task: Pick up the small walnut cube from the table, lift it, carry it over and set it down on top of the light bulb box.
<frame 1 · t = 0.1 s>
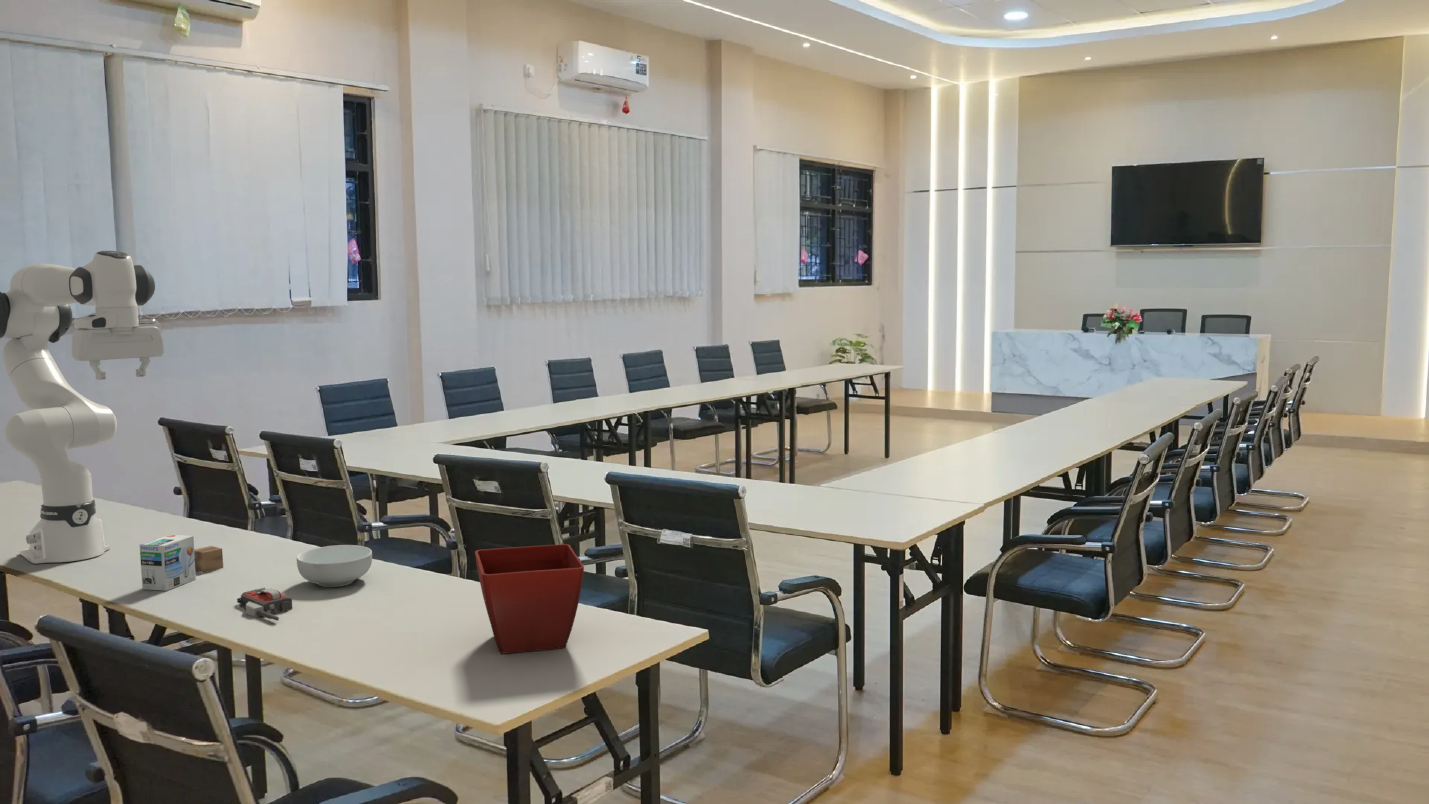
hand: (121, 378, 259), 48 cm above the table, tool pointing down, fingers open, 8 cm apart
light bulb box: (169, 585, 255), on the table
walnut cube: (208, 569, 269), on the table
plant pot: (530, 642, 214), on the table
cereal bowl: (335, 583, 256), on the table
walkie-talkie: (269, 613, 234), on the table
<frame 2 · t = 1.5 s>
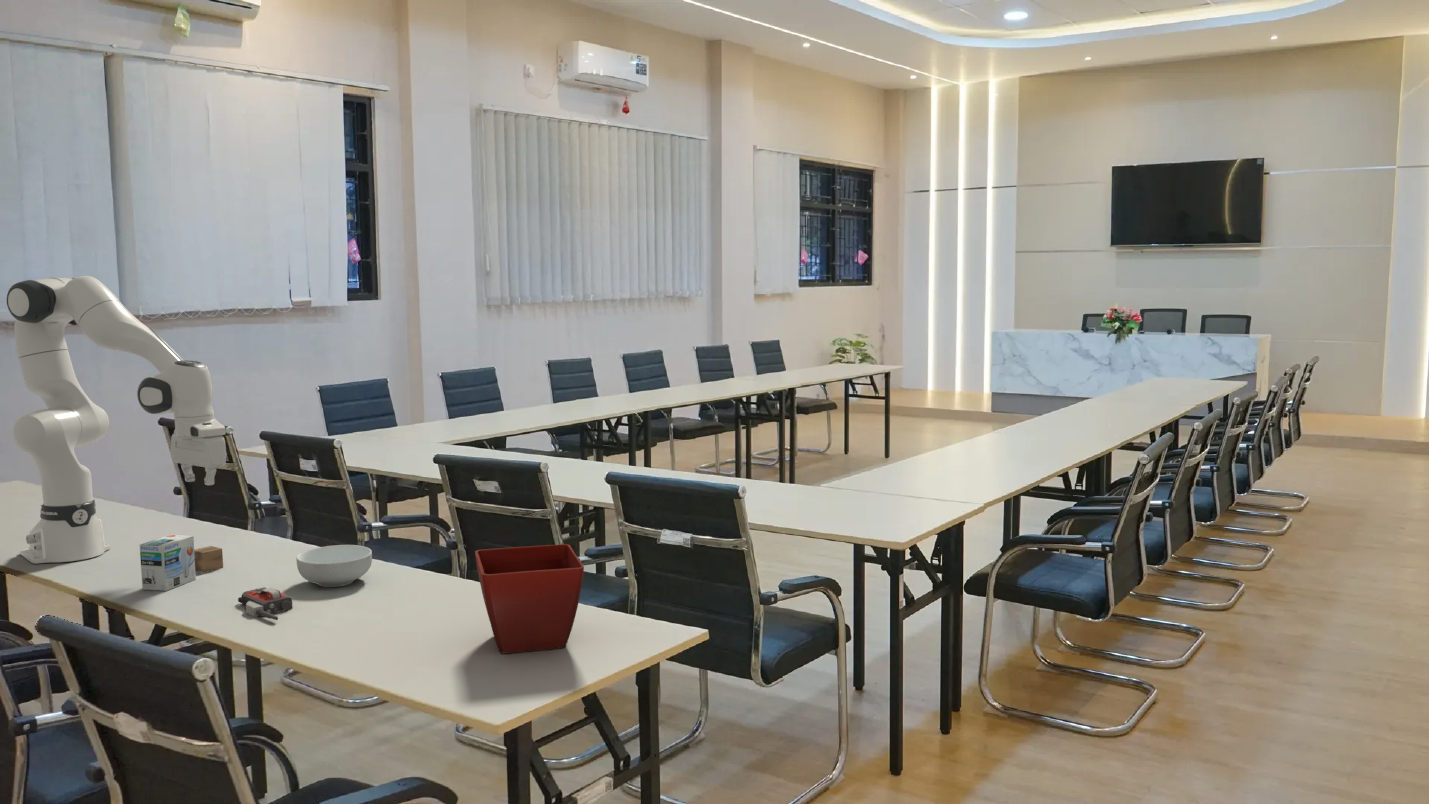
hand: (199, 483, 266), 22 cm above the table, tool pointing down, fingers open, 8 cm apart
nothing on the table moved.
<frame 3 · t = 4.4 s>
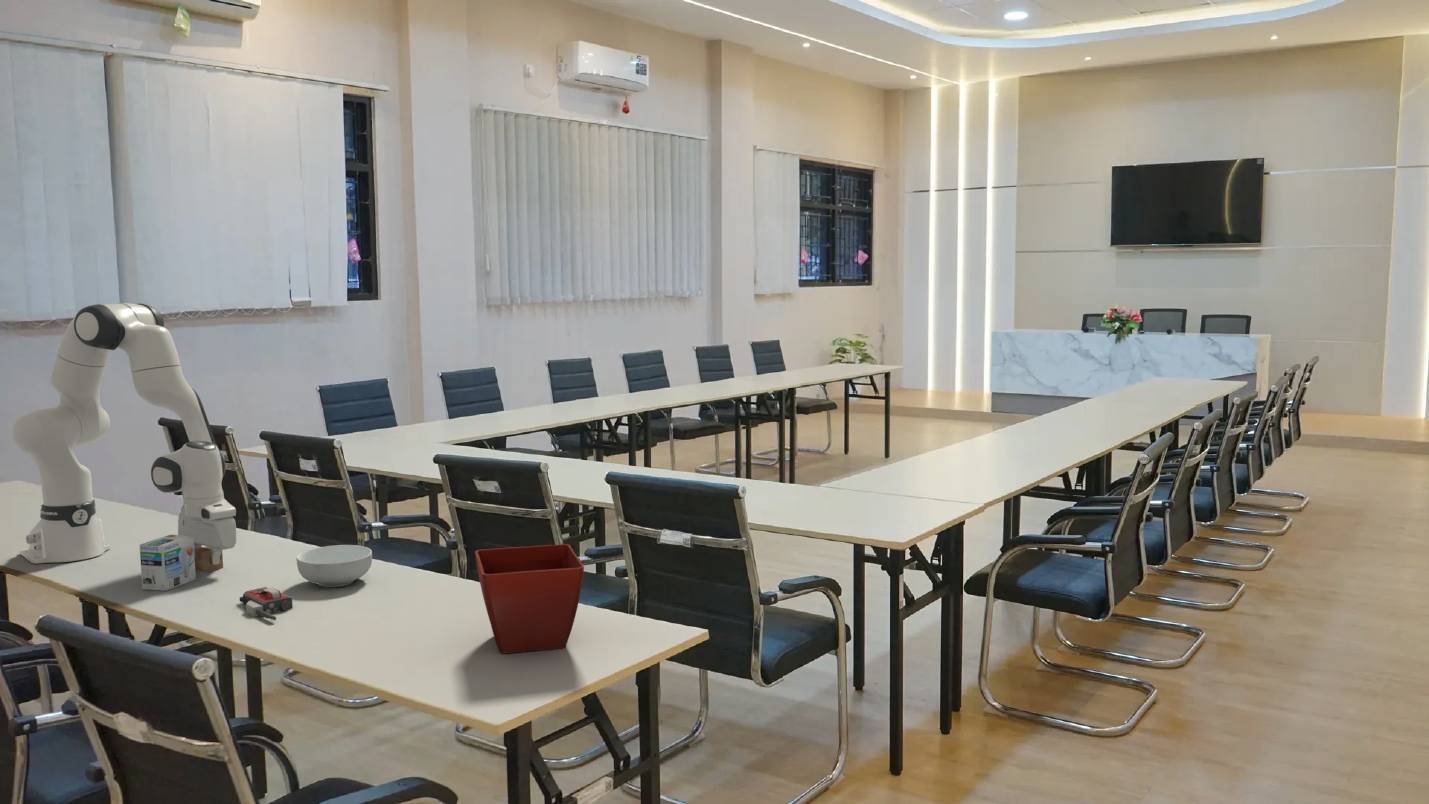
hand: (207, 562, 269), 2 cm above the table, tool pointing down, fingers closed on walnut cube, 5 cm apart
walnut cube: (208, 568, 269), on the table, touching gripper
everything else where it was.
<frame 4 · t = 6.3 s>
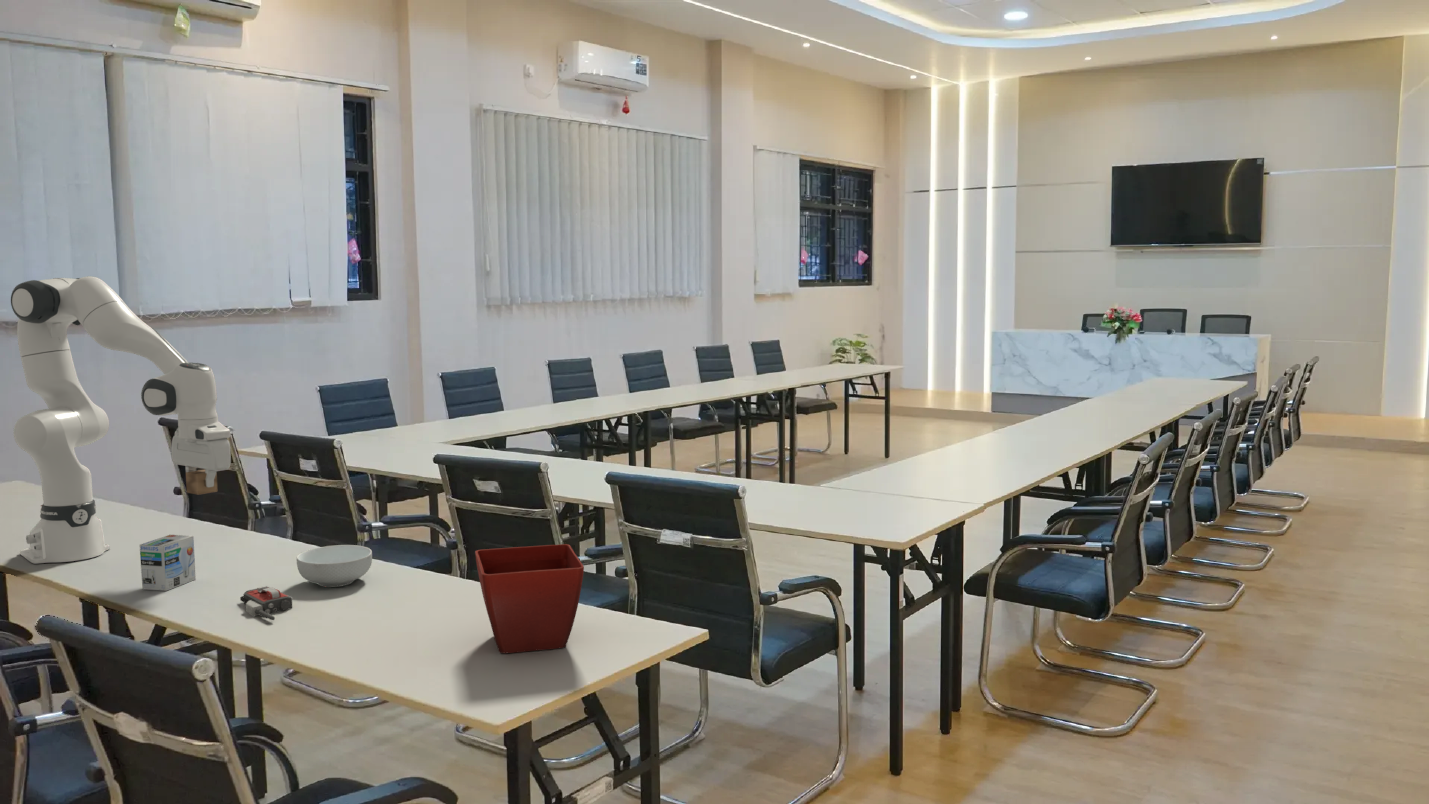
hand: (201, 485, 266), 21 cm above the table, tool pointing down, fingers closed on walnut cube, 5 cm apart
walnut cube: (202, 492, 266), point 19 cm above the table, touching gripper
everything else where it was.
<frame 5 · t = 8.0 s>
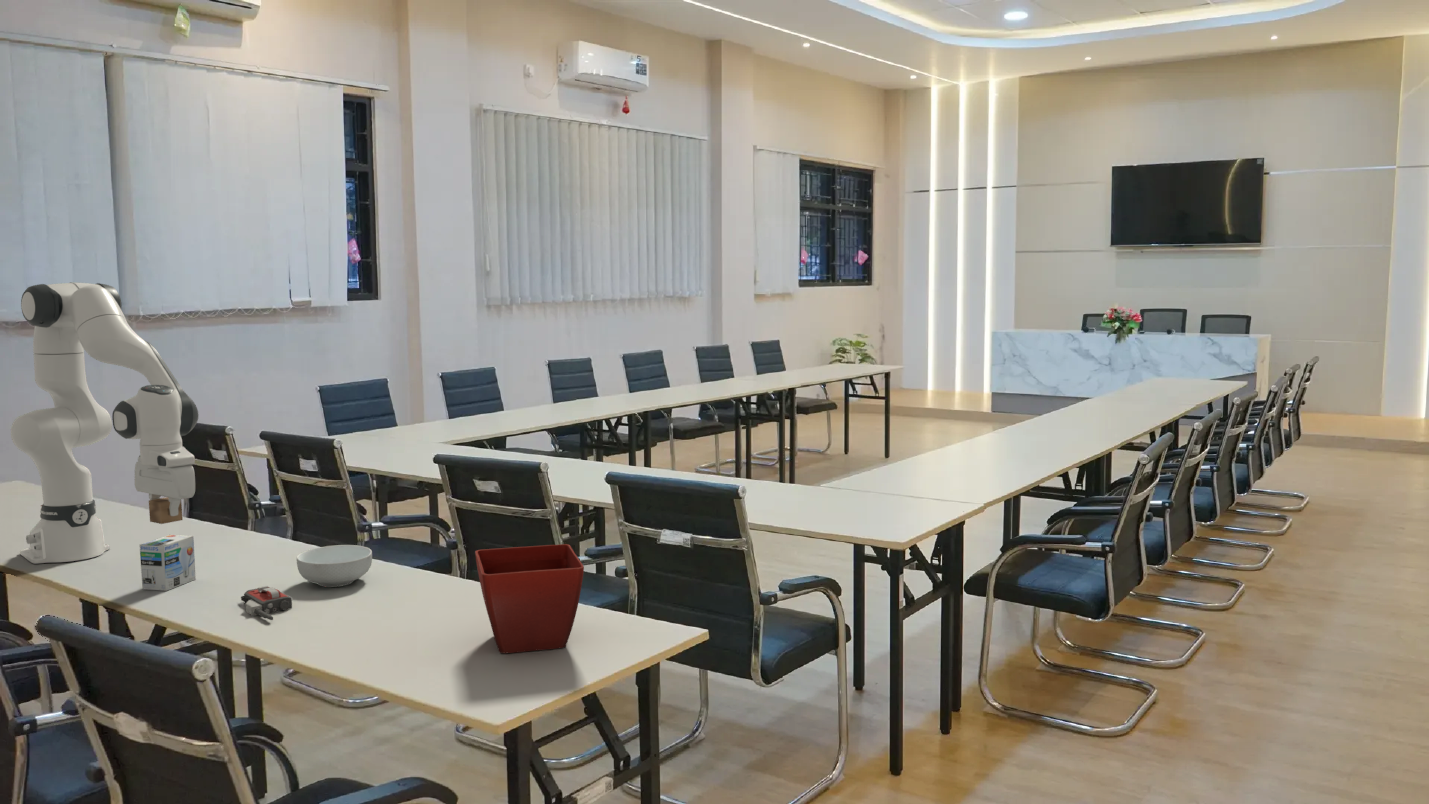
hand: (165, 514, 253), 17 cm above the table, tool pointing down, fingers closed on walnut cube, 5 cm apart
walnut cube: (166, 520, 253), point 15 cm above the table, touching gripper
everything else where it was.
when the fingers open (14 cm above the table, at t = 9.4 s): walnut cube drops 1 cm, resting on light bulb box.
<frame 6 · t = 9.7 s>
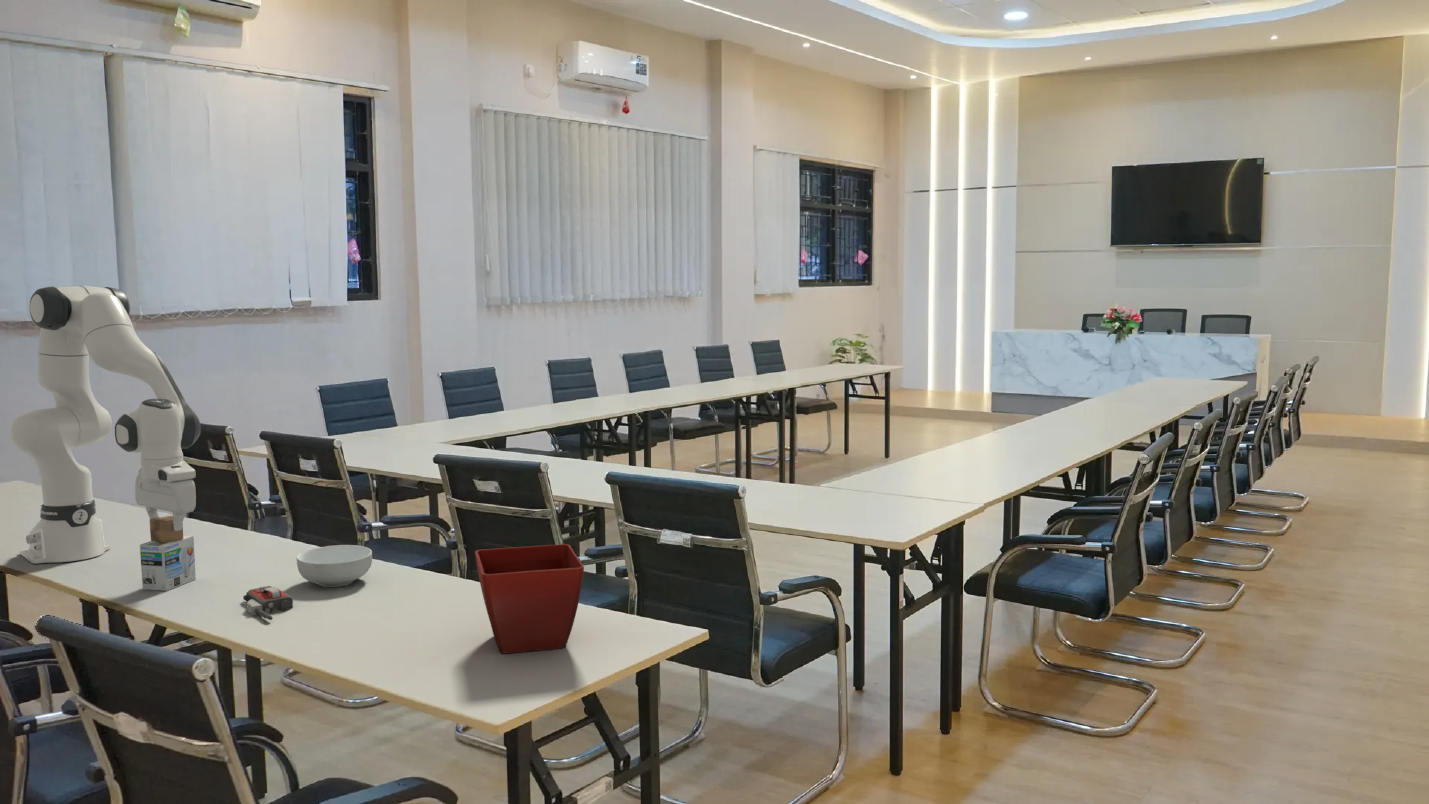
hand: (166, 527, 253), 14 cm above the table, tool pointing down, fingers open, 8 cm apart
light bulb box: (169, 585, 255), on the table, touching walnut cube
walnut cube: (167, 539, 254), point 11 cm above the table, touching light bulb box
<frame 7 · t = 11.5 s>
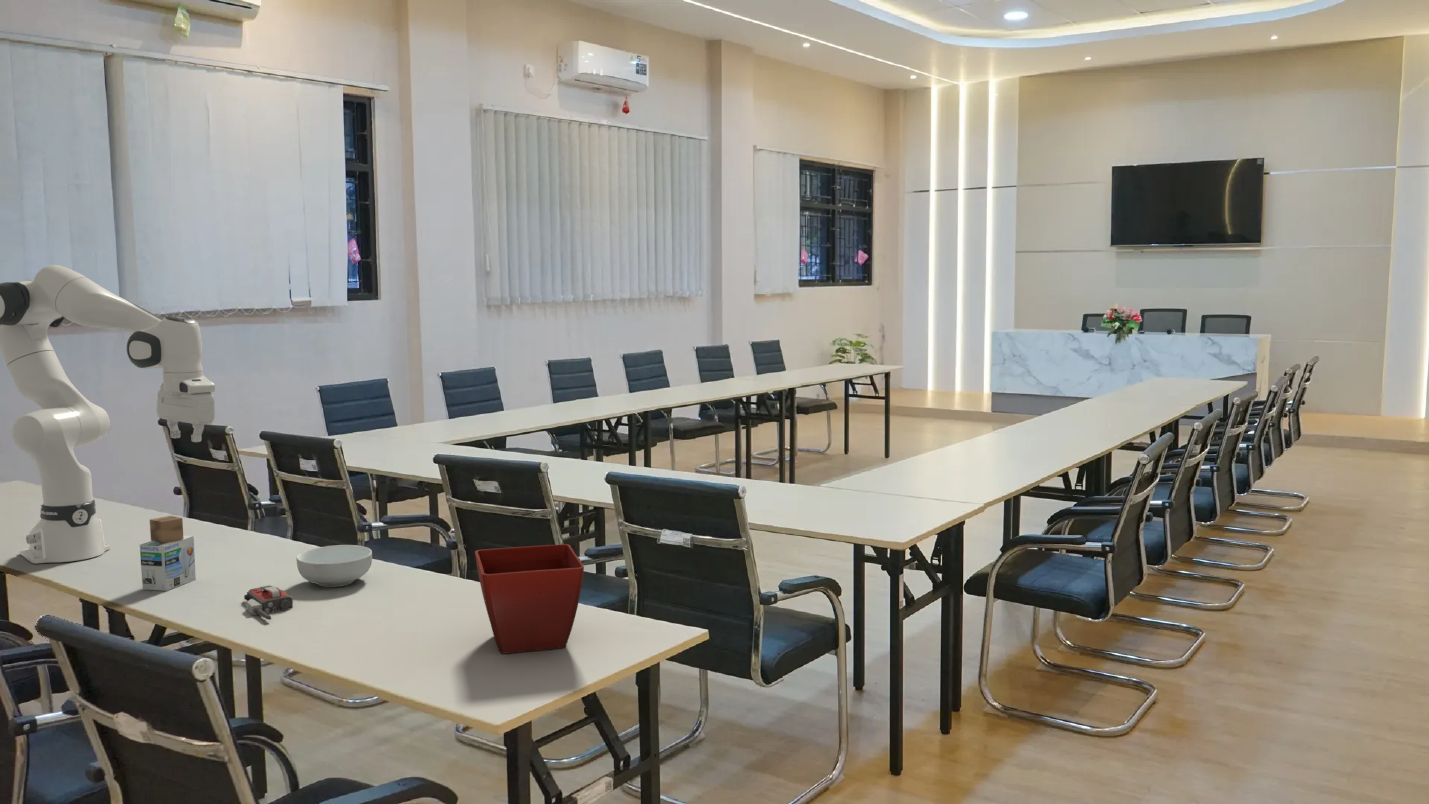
hand: (186, 439, 264), 32 cm above the table, tool pointing down, fingers open, 8 cm apart
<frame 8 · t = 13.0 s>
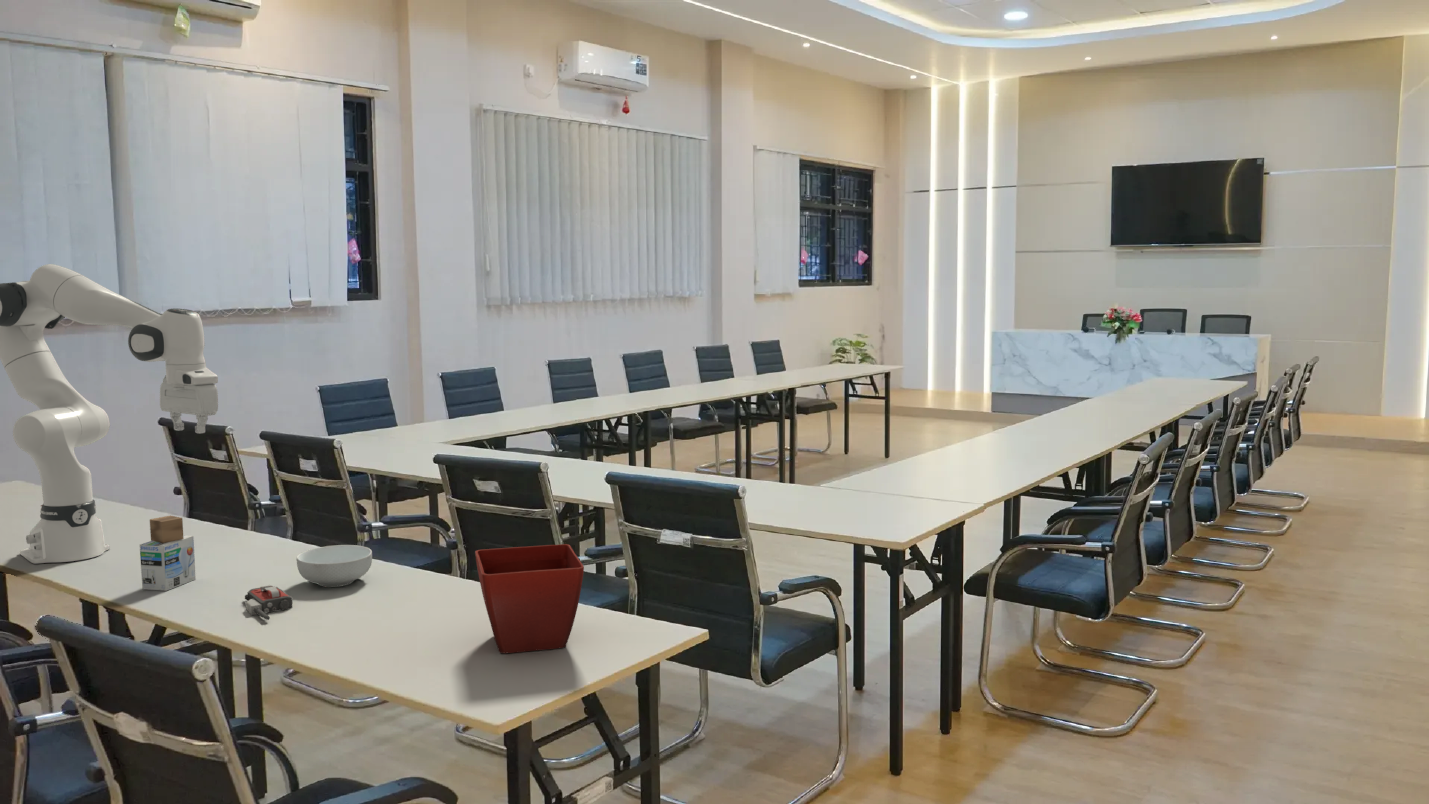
hand: (189, 431, 266), 34 cm above the table, tool pointing down, fingers open, 8 cm apart
at the end: walnut cube inside the target area on the light bulb box (0.1 cm from its centre), point 11.0 cm above the light bulb box's base; light bulb box tilted 0°; the gripper is holding nothing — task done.
